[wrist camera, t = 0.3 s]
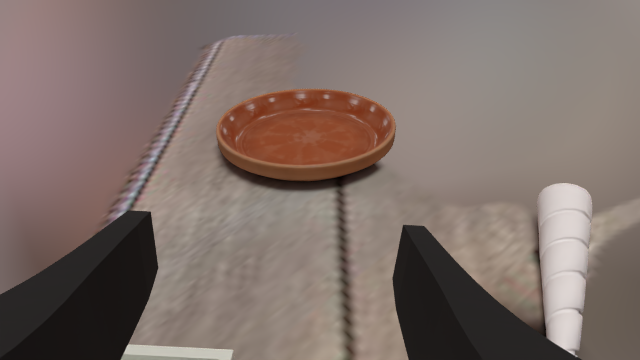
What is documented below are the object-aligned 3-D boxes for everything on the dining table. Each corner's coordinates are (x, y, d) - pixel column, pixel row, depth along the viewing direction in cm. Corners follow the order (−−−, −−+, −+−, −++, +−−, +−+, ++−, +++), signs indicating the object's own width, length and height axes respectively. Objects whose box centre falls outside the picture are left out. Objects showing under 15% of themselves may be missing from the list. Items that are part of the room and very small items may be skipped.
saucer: (282, 99, 74) (280, 77, 72) (418, 128, 65) (421, 103, 63) (182, 164, 58) (176, 138, 56) (345, 216, 48) (345, 186, 46)
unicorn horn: (497, 413, 30) (511, 368, 28) (533, 213, 48) (544, 174, 45) (578, 445, 28) (601, 399, 26) (584, 225, 46) (598, 184, 43)
